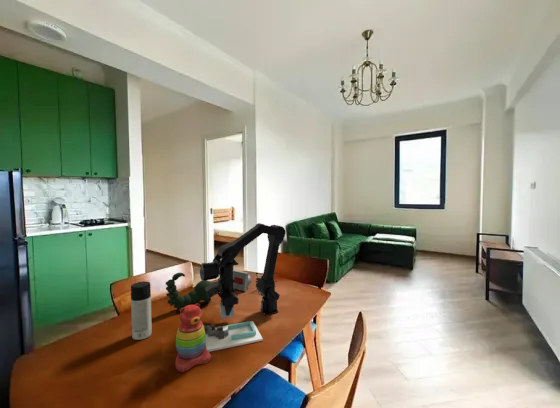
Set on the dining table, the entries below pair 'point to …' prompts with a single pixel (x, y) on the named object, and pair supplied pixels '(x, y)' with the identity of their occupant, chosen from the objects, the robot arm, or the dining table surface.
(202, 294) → the toy figurine
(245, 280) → the voltmeter
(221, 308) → the block
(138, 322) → the spray can
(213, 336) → the board
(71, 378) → the dining table surface
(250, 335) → the end holder
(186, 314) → the stacking bear
